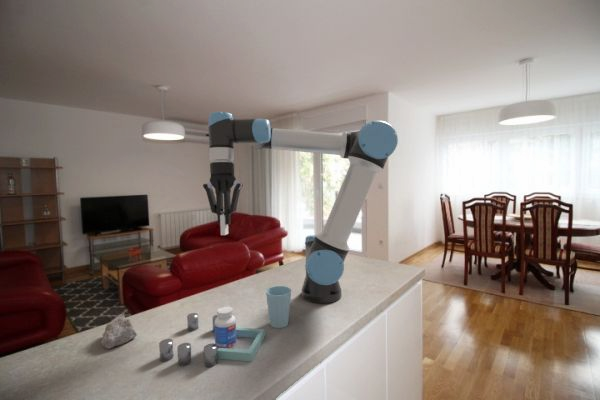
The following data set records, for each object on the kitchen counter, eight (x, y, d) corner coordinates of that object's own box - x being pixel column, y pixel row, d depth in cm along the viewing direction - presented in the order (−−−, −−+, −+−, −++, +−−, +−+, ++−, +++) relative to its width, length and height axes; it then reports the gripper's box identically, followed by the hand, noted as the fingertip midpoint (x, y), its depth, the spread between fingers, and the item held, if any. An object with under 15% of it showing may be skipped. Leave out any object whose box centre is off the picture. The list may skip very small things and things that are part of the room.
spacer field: (241, 328, 83) (241, 315, 83) (212, 369, 65) (212, 352, 65) (192, 324, 86) (191, 311, 85) (150, 363, 67) (149, 347, 67)
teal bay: (264, 336, 78) (264, 329, 78) (251, 361, 67) (251, 353, 67) (233, 333, 80) (233, 327, 80) (216, 358, 69) (215, 350, 69)
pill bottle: (231, 352, 71) (230, 315, 70) (211, 350, 72) (210, 314, 71) (239, 340, 76) (238, 306, 76) (221, 339, 77) (219, 304, 77)
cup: (291, 316, 90) (290, 285, 89) (292, 329, 82) (291, 294, 81) (267, 318, 89) (266, 286, 88) (266, 331, 81) (265, 296, 81)
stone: (102, 353, 72) (100, 331, 72) (100, 337, 80) (99, 317, 79) (138, 342, 77) (136, 321, 76) (133, 328, 85) (132, 309, 84)
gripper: (245, 162, 93) (247, 232, 94) (208, 163, 95) (211, 232, 96) (236, 160, 85) (239, 236, 87) (197, 161, 88) (200, 236, 89)
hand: (224, 234), depth 92 cm, fingers closed
